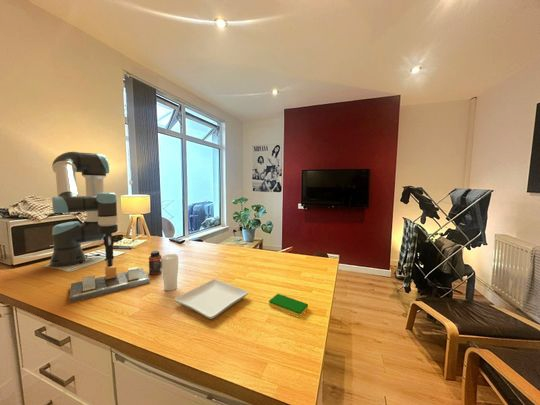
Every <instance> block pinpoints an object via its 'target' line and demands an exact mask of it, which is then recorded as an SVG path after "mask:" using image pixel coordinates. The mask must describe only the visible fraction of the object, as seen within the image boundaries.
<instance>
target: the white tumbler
mask: <svg viewBox="0 0 540 405" xmlns="http://www.w3.org/2000/svg"><path fill="white" fill-rule="evenodd" d="M161 257H162V272H161V273H162V279H163V288H164V290H165V291H167V292H168V291H169V292H171V291H174V290H176V289H177V288H178V276H179V275H178V272H179V255H178V254H176V253H169V254H165V255H161Z"/></svg>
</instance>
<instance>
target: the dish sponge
mask: <svg viewBox="0 0 540 405" xmlns="http://www.w3.org/2000/svg"><path fill="white" fill-rule="evenodd" d="M268 306H269V307H271V308H273V307H274V308H273V309H276V310H278V309H279V310H278V311H281V312H283V311H284V313H286V312H287V313H286V314H288V313H290V314H289V315H291V314H293V315H295V316H294V317H296V316H298V317H301V316H302V317H303V315H305V313H306V312H307V311H308V310H309V304H308V303H306V302H302V301H301V300H297V299H294V298H292V297H289V296H286V295H284V294H281V293H276V295H274V296H272V298H270V299H269V300H268ZM307 309H308V310H307ZM306 310H307V311H306ZM305 311H306V312H305ZM304 312H305V313H304ZM293 315H292V316H293ZM298 317H297V318H298ZM302 317H301V318H302Z"/></svg>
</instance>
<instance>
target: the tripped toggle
mask: <svg viewBox="0 0 540 405" xmlns="http://www.w3.org/2000/svg"><path fill="white" fill-rule="evenodd" d="M104 274H105V275H104V277H105V278H106V279H110V278H115V277H116V274H117V266H116V265H113V266H110V267H104Z"/></svg>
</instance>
